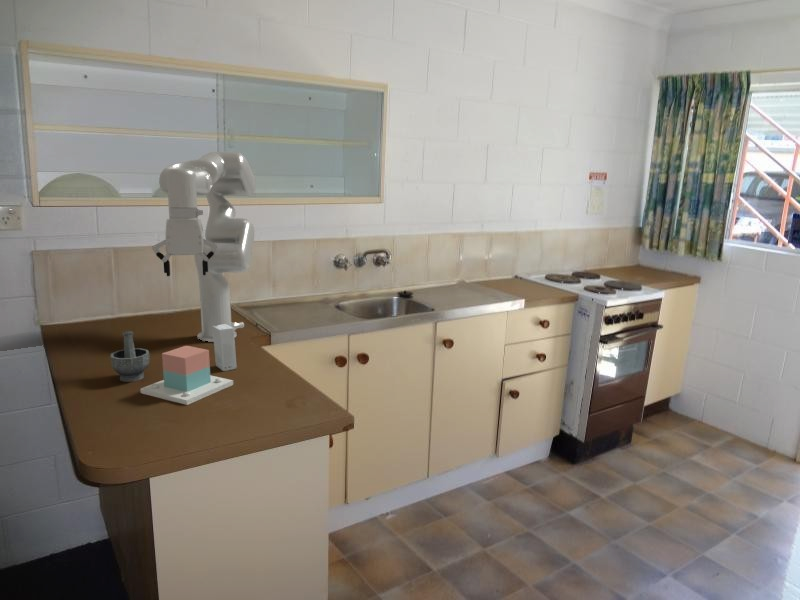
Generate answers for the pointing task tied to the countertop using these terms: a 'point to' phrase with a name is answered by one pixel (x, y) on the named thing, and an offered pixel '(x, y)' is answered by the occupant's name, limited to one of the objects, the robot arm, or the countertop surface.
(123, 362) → the mortar and pestle
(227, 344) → the skincare box
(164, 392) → the block on square base
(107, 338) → the countertop surface
